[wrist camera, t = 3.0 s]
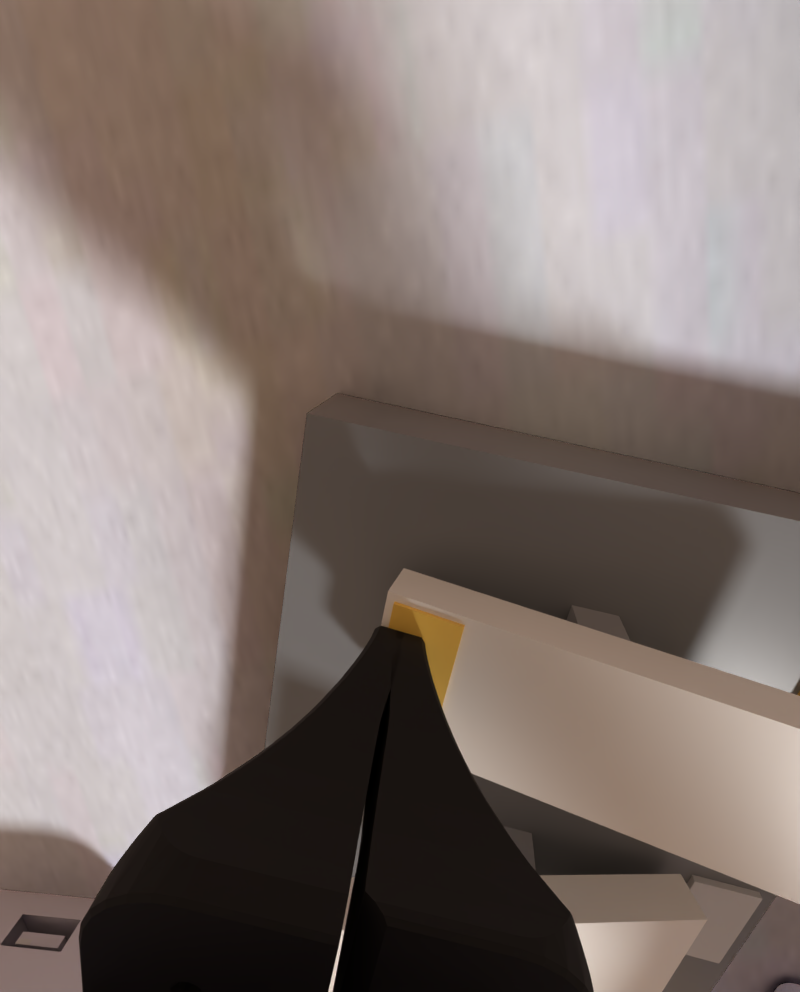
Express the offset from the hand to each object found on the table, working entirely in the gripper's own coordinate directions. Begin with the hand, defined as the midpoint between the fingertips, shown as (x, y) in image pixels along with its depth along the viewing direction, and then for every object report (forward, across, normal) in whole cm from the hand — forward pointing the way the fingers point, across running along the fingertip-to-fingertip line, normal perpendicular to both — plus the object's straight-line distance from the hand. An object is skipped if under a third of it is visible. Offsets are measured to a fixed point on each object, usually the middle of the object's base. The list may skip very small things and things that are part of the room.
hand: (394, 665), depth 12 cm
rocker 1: (0, -5, 0) cm, 5 cm away
